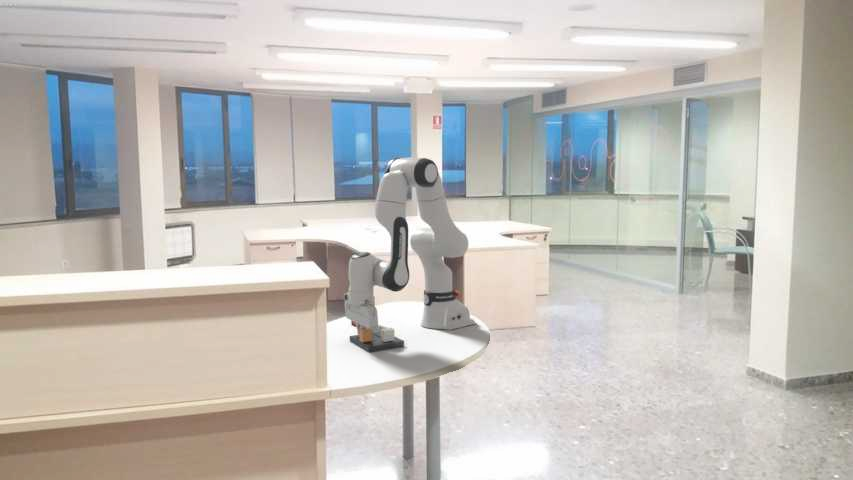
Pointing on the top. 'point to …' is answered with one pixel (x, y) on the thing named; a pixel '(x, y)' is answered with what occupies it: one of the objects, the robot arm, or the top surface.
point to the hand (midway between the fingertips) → (361, 335)
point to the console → (377, 343)
